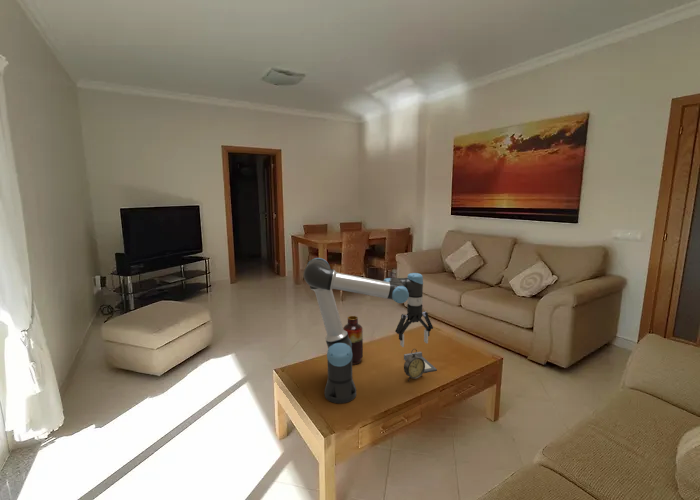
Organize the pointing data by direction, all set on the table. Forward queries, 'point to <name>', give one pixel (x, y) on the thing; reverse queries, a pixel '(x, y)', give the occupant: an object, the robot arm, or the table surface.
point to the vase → (355, 338)
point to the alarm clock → (414, 366)
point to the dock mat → (428, 366)
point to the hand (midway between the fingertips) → (414, 344)
